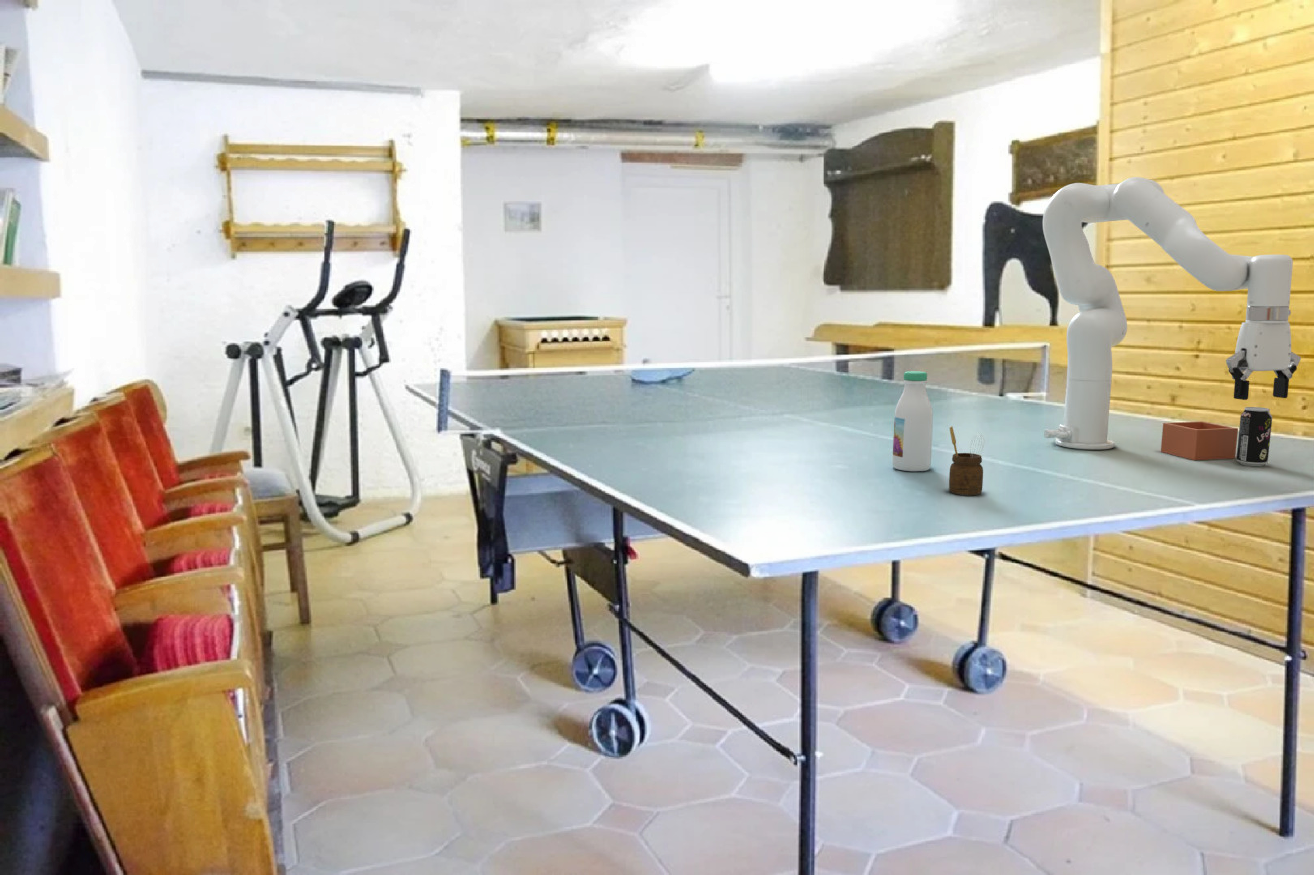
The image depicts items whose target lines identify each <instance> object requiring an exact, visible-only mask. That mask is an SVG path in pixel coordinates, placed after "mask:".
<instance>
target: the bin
mask: <svg viewBox="0 0 1314 875" xmlns="http://www.w3.org/2000/svg"><path fill="white" fill-rule="evenodd" d="M1238 436H1239V428H1238V427H1233V426H1229V425H1223V424H1219V423H1213V422H1208V421H1202V420H1201V421H1177V422H1175V421H1174V422H1162V432H1161V444H1160V453H1165V454H1168V455H1171V456H1177V457H1180V458H1184V459H1188V460H1192V461H1206V460H1224V459H1225V460H1226V459H1228V460H1229V459H1236V456H1237V447H1238Z"/></svg>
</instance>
